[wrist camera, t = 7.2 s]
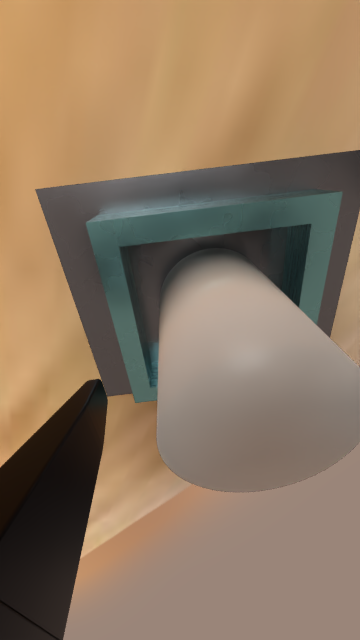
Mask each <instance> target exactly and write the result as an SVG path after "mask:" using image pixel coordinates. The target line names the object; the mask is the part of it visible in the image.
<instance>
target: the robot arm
mask: <svg viewBox="0 0 360 640" xmlns="http://www.w3.org/2000/svg"><path fill="white" fill-rule="evenodd" d="M107 404H108V400H107V395H106V392H105V389H104V386H103V383H102V381H101V380H100V379H95V380H89V381H87V382H86V383H85V384H84V385H83V386H82V387H81V388H80V389H79V390H78V391H77V392H76V393H75V394H74V395H73V396H72V397H71V398H70V399H69V400H68V401H67V402H66V403H65V404H64V405H63V406H62V407H61V408H60V409H59V410H58V411H57V412H56V413H55V414H54V415H53V416H52V417H51V418H50V419H49V420H48V421H47V422H46V423H45V424H44V425H43V426H42V427H41V428H40V429H38V430H37V431H36V432H35V433H34V434H33V435H32V436H31V437H30V438H29V439H28V440H27V441H26V442H25V443H24V444H23V445H22V446H21V447H20V448H19V449H18V450H17V451H16V452H15V453H14V454H13V455H12V456H11V457H10V458H9V459H8V460H7V461H6V462H5V463H4V464H3V465H2V466H1V467H0V640H63V637H64V632H65V627H66V622H67V618H68V613H69V608H70V603H71V598H72V594H73V589H74V584H75V579H76V574H77V570H78V565H79V561H80V556H81V551H82V546H83V542H84V537H85V532H86V527H87V523H88V518H89V513H90V508H91V503H92V499H93V494H94V489H95V484H96V480H97V475H98V470H99V465H100V461H101V456H102V451H103V444H104V435H105V425H106V414H107Z"/></svg>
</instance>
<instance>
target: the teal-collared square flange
mask: <svg viewBox="0 0 360 640" xmlns="http://www.w3.org/2000/svg"><path fill="white" fill-rule="evenodd" d="M35 190H36V193H37V196H38V199H39V201H40V204H41V207H42V210H43V213H44V216H45V219H46V221H47V224H48V227H49V230H50V233H51V236H52V239H53V242H54V244H55V247H56V250H57V253H58V256H59V259H60V262H61V264H62V267H63V270H64V273H65V276H66V279H67V282H68V284H69V287H70V290H71V293H72V296H73V299H74V302H75V305H76V307H77V310H78V313H79V316H80V319H81V322H82V325H83V327H84V330H85V333H86V336H87V339H88V342H89V345H90V347H91V350H92V353H93V356H94V359H95V362H96V365H97V368H98V370H99V373H100V376H101V379H102V382H103V385H104V388H105V390H106V393H107V396H115V395H123V394H132V393H133V396H134V400H135V403H139V402H147V401H156V400H157V397H158V357H159V316H160V293H161V288H162V285H163V282H164V280H165V278H166V276H167V275H168V273H169V272H170V270H171V269H172V268H173V267H174V266H175V265H176V264H177V263H178V262H179V261H180V260H182V259H183V258H185V257H186V256H188V255H190V254H192V253H194V252H197V251H200V250H204V249H209V248H223V249H228V250H232V251H235V252H238V253H240V254H242V255H243V256H245V257H246V258H248V259H249V260H250V261H251V262H252V263H253V264H254V265H255V266H256V267H257V268H258V269H259V270H260V271H261V272H262V273H263V274H264V275H265V276H267V277H268V278H269V279H270V280H271V281H272V282H273V283H274V284H275V285H276V286H277V287H278V288H279V289H280V290H281V291H282V292H283V293H284V294H285V295H286V296H287V297H288V298H289V299H290V300H291V301H292V302H293V303H294V304H295V305H296V306H297V307H298V308H299V309H300V310H301V311H303V312H304V313H305V314H306V315H307V316H308V317H309V318H310V319H311V320H312V321H313V322H314V323H315V324H316V325H317V326H318V327H319V328H320V329H321V330H322V331H323V332H324V333H325V334H326V335H327V336H328V337H329V338H330V335H331V330H332V326H333V322H334V317H335V313H336V309H337V305H338V300H339V296H340V292H341V287H342V283H343V279H344V275H345V270H346V266H347V262H348V257H349V253H350V249H351V244H352V240H353V236H354V232H355V227H356V223H357V219H358V214H359V210H360V150H356V151H348V152H340V153H332V154H323V155H315V156H307V157H299V158H290V159H282V160H274V161H266V162H257V163H249V164H241V165H232V166H224V167H216V168H208V169H199V170H191V171H183V172H175V173H166V174H158V175H150V176H142V177H133V178H125V179H117V180H109V181H100V182H92V183H84V184H76V185H67V186H59V187H51V188H43V189H35Z"/></svg>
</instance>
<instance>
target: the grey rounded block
mask: <svg viewBox="0 0 360 640" xmlns="http://www.w3.org/2000/svg"><path fill="white" fill-rule="evenodd" d="M156 439H157V446H158V450H159V453H160V456H161V457H162V459H163V461H164V462H165V464H166V465H167V466H168V467H169V468H170V470H171V471H173V472H174V473H175V474H176V475H178V476H179V477H181V478H182V479H184V480H186V481H188V482H190V483H192V484H195V485H197V486H200V487H203V488H207V489H212V490H216V491H224V492H255V491H263V490H270V489H275V488H279V487H283V486H287V485H290V484H293V483H296V482H299V481H302V480H305V479H307V478H309V477H312V476H314V475H316V474H318V473H320V472H322V471H324V470H326V469H327V468H329V467H330V466H332V465H334V464H335V463H337V462H338V461H339V460H340V459H342V458H343V457H344V456H346V455H347V454H348V453H349V452H350V451H351V450H352V449H354V448H355V446H356V445H357V444H358V443H359V442H360V367H359V366H358V365H357V364H356V363H355V362H354V361H353V360H352V359H351V358H350V357H349V356H348V355H347V354H346V353H345V352H344V351H343V350H342V349H341V348H340V347H339V346H337V345H336V344H335V343H334V342H333V341H332V340H331V339H330V338H329V337H328V336H327V335H326V334H325V333H324V332H323V331H322V330H321V329H320V328H319V327H318V326H317V325H316V324H315V323H314V322H313V321H312V320H311V319H310V318H309V317H308V316H307V315H306V314H305V313H304V312H303V311H301V310H300V309H299V308H298V307H297V306H296V305H295V304H294V303H293V302H292V301H291V300H290V299H289V298H288V297H287V296H286V295H285V294H284V293H283V292H282V291H281V290H280V289H279V288H278V287H277V286H276V285H275V284H274V283H273V282H272V281H271V280H270V279H269V278H268V277H267V276H265V275H264V274H263V273H262V272H261V271H260V270H259V269H258V268H257V267H256V266H255V265H254V264H253V263H252V262H251V261H250V260H249V259H248V258H246V257H245V256H243V255H242V254H240V253H238V252H235V251H232V250H228V249H223V248H209V249H204V250H200V251H197V252H194V253H192V254H190V255H188V256H186V257H185V258H183V259H182V260H180V261H179V262H178V263H177V264H176V265H175V266H174V267H173V268H172V269H171V270H170V272H169V273H168V275H167V276H166V278H165V280H164V282H163V285H162V288H161V293H160V316H159V357H158V397H157V438H156Z"/></svg>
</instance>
